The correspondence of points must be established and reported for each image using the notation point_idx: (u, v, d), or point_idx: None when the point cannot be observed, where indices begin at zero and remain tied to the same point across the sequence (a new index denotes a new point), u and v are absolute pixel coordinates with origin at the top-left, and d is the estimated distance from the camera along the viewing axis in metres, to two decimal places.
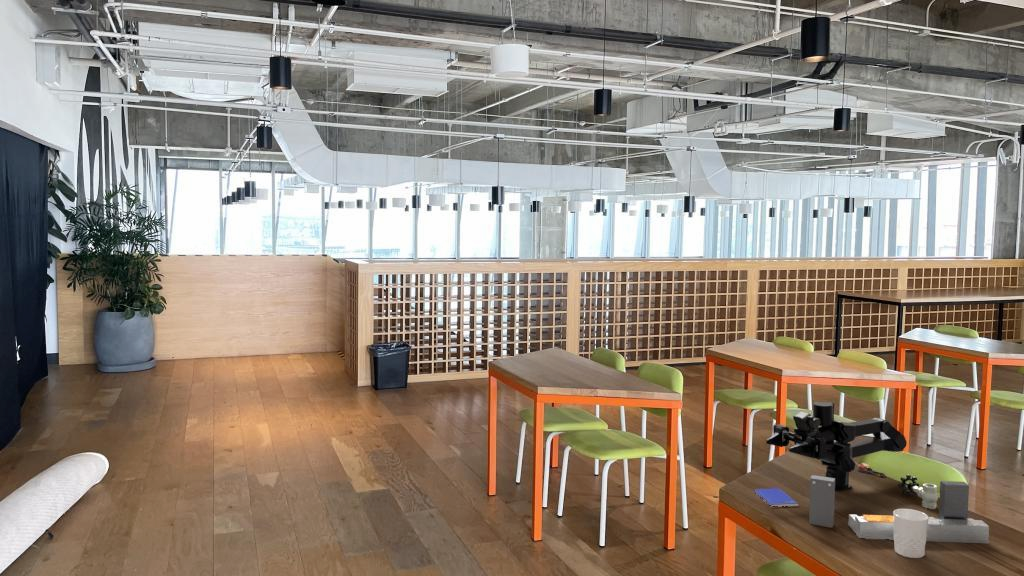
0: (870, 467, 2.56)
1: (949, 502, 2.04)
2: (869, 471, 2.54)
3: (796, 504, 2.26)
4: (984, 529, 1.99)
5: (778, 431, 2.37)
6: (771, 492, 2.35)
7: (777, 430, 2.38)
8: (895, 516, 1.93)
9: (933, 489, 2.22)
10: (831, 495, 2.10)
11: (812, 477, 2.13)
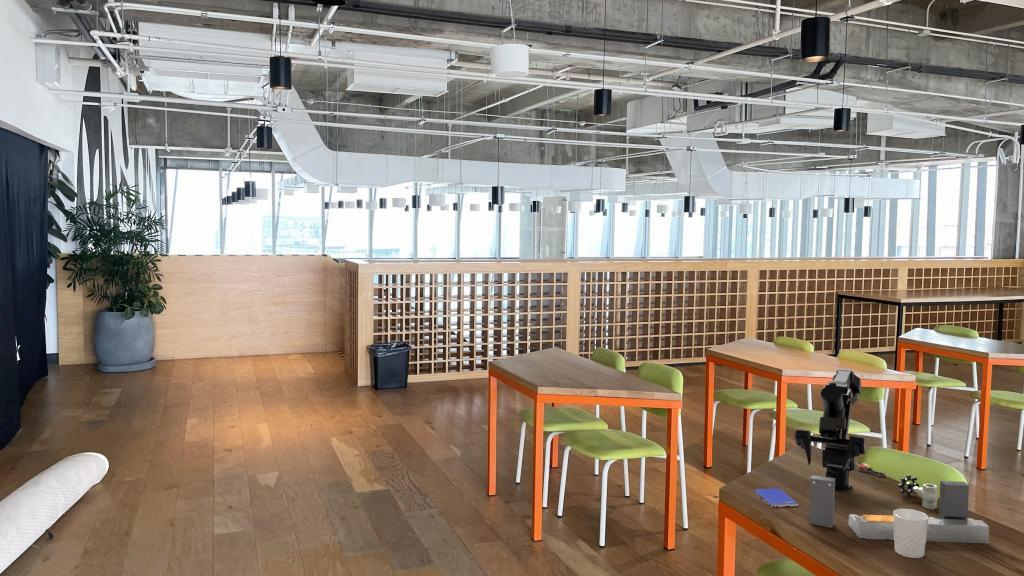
0: (870, 467, 2.56)
1: (949, 502, 2.04)
2: (869, 471, 2.54)
3: (796, 504, 2.26)
4: (984, 529, 1.99)
5: (807, 442, 2.23)
6: (771, 492, 2.35)
7: (805, 441, 2.24)
8: (895, 516, 1.93)
9: (933, 489, 2.22)
10: (831, 495, 2.10)
11: (812, 477, 2.13)
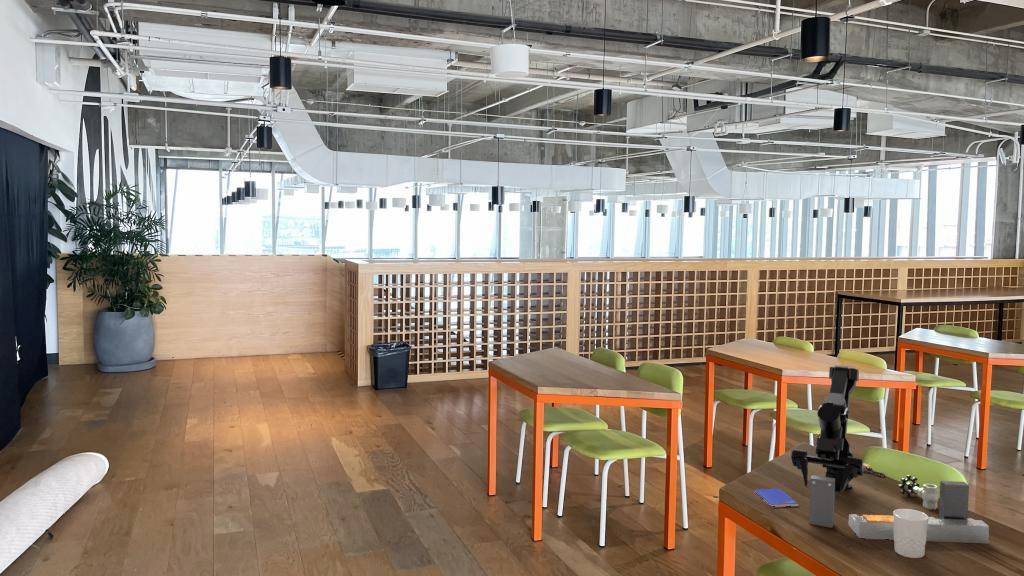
0: (870, 467, 2.56)
1: (949, 502, 2.04)
2: (869, 471, 2.54)
3: (796, 504, 2.26)
4: (984, 529, 1.99)
5: (804, 463, 2.18)
6: (771, 492, 2.35)
7: (801, 462, 2.18)
8: (895, 516, 1.93)
9: (934, 489, 2.22)
10: (831, 495, 2.10)
11: (812, 477, 2.13)
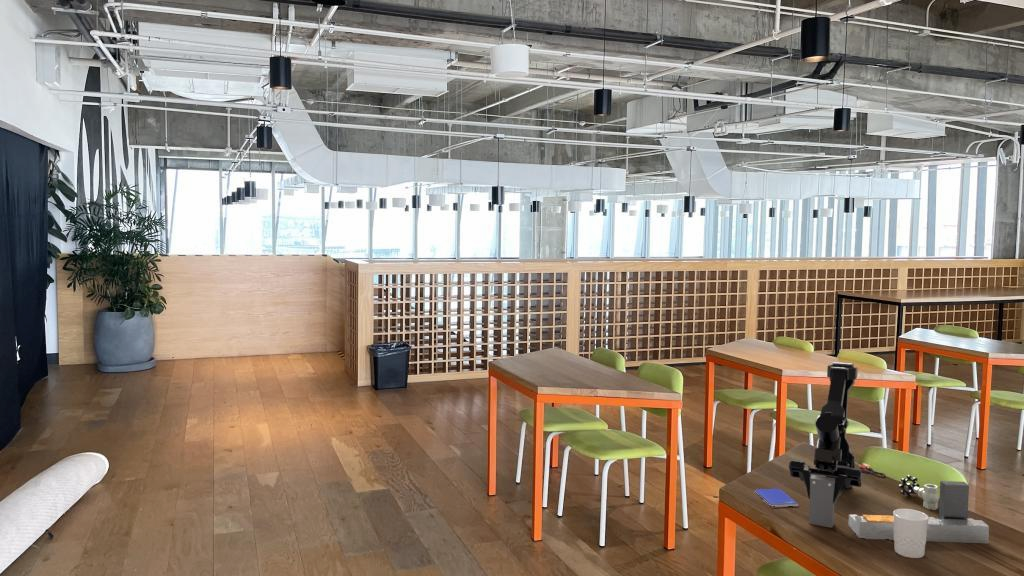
0: (871, 467, 2.56)
1: (949, 502, 2.04)
2: (869, 471, 2.54)
3: (796, 504, 2.26)
4: (984, 529, 1.99)
5: (807, 475, 2.15)
6: (772, 492, 2.35)
7: (805, 474, 2.15)
8: (895, 516, 1.93)
9: (934, 490, 2.22)
10: (831, 495, 2.10)
11: (812, 477, 2.13)
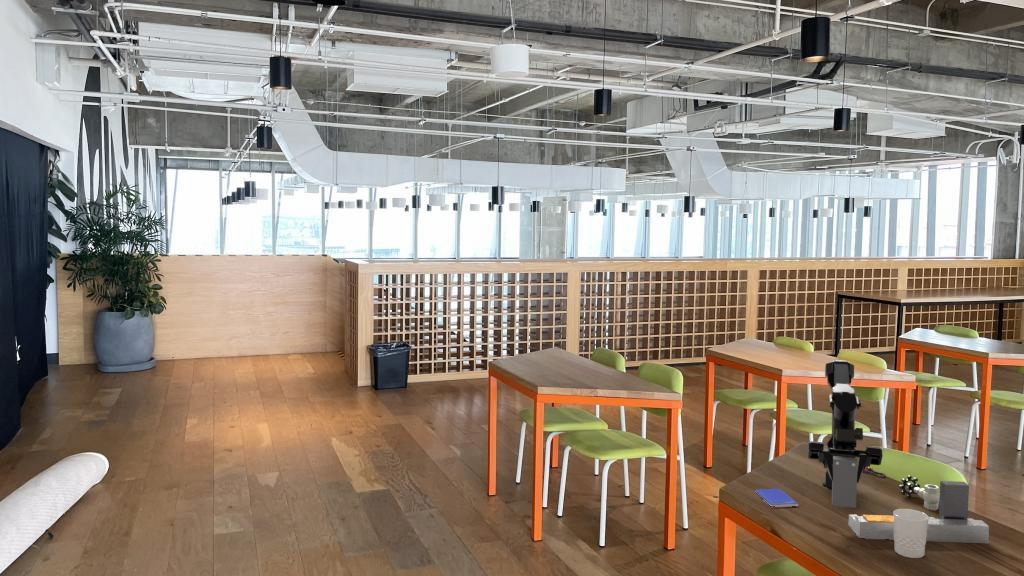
0: (871, 467, 2.56)
1: (949, 502, 2.04)
2: (870, 471, 2.54)
3: (796, 504, 2.26)
4: (984, 529, 1.99)
5: (828, 456, 2.12)
6: (772, 492, 2.35)
7: (826, 455, 2.12)
8: (895, 516, 1.93)
9: (935, 490, 2.22)
10: (855, 475, 2.07)
11: (835, 458, 2.09)
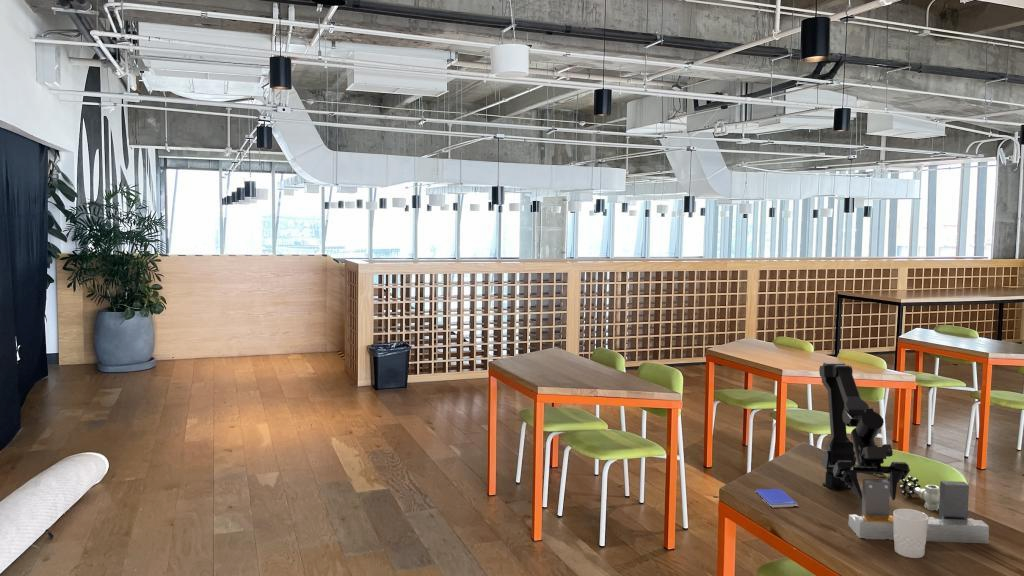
0: None
1: (949, 502, 2.04)
2: None
3: (796, 505, 2.26)
4: (984, 529, 1.99)
5: (854, 475, 2.09)
6: (772, 492, 2.35)
7: (852, 474, 2.09)
8: (895, 516, 1.93)
9: (936, 490, 2.21)
10: (887, 497, 2.06)
11: (867, 481, 2.07)
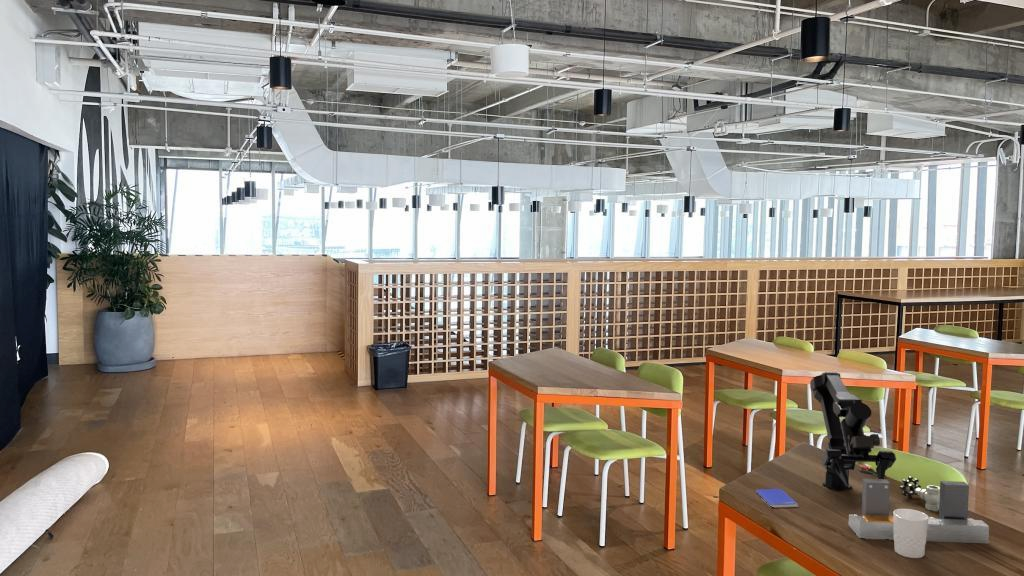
0: (872, 468, 2.55)
1: (949, 502, 2.04)
2: (870, 472, 2.54)
3: (796, 505, 2.26)
4: (984, 529, 1.99)
5: (842, 463, 2.19)
6: (772, 492, 2.35)
7: (839, 462, 2.19)
8: (895, 516, 1.93)
9: (937, 491, 2.21)
10: (887, 497, 2.06)
11: (867, 481, 2.07)
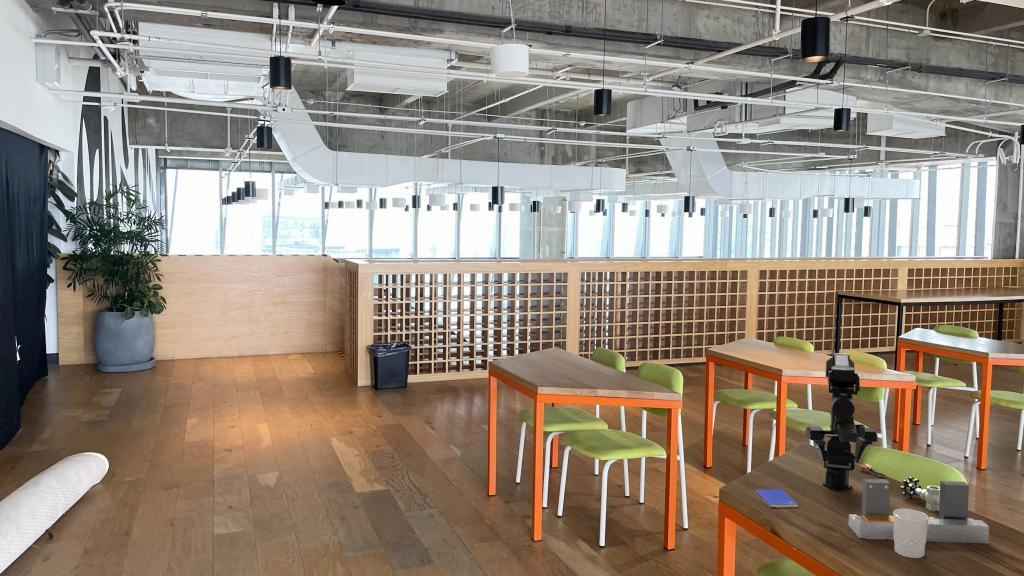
0: (872, 468, 2.55)
1: (949, 502, 2.04)
2: (870, 472, 2.53)
3: (796, 505, 2.26)
4: (984, 529, 1.99)
5: (823, 444, 2.23)
6: (772, 492, 2.35)
7: (820, 444, 2.23)
8: (895, 516, 1.93)
9: (937, 491, 2.21)
10: (887, 497, 2.06)
11: (867, 481, 2.07)
